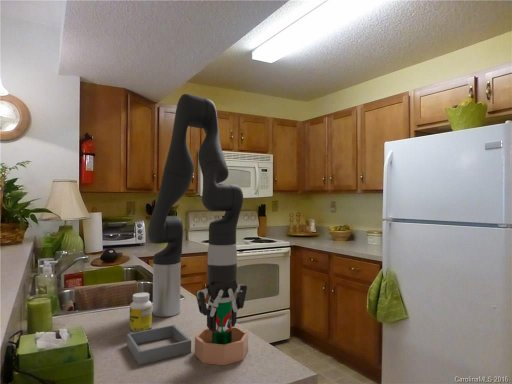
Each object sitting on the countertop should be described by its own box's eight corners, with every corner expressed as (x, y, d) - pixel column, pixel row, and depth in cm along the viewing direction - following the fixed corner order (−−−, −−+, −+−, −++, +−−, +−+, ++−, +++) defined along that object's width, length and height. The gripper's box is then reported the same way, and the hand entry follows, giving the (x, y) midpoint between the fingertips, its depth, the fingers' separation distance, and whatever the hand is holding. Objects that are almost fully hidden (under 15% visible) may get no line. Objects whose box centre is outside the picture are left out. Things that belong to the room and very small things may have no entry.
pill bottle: (125, 332, 102) (125, 294, 102) (144, 326, 106) (145, 290, 107) (136, 338, 98) (136, 298, 98) (155, 332, 102) (156, 294, 102)
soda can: (232, 339, 91) (232, 293, 91) (231, 347, 86) (231, 298, 86) (212, 339, 91) (213, 293, 91) (211, 347, 86) (211, 299, 86)
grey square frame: (126, 345, 93) (126, 334, 93) (173, 335, 100) (174, 324, 100) (139, 365, 82) (139, 352, 82) (191, 352, 89) (191, 340, 89)
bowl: (189, 349, 90) (189, 331, 91) (231, 339, 97) (231, 322, 97) (209, 369, 80) (209, 349, 80) (255, 356, 87) (256, 338, 87)
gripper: (239, 256, 96) (238, 318, 96) (190, 261, 88) (189, 328, 88) (253, 261, 90) (253, 327, 89) (202, 266, 82) (201, 339, 82)
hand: (221, 327), depth 89 cm, fingers closed on soda can, 5 cm apart
